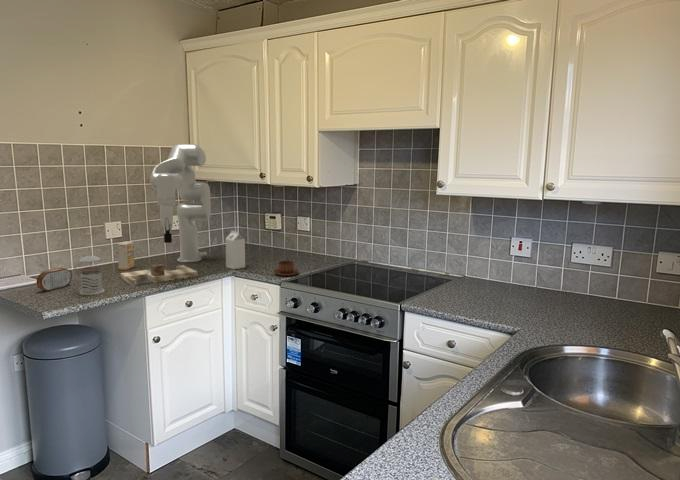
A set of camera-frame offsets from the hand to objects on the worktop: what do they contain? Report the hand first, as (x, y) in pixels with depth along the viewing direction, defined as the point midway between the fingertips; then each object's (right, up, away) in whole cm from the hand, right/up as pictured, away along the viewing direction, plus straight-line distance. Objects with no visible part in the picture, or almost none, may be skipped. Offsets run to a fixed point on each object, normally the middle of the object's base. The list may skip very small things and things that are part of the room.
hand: (168, 242), depth 226 cm
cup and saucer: (+51, -16, +20) cm, 57 cm away
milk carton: (+24, -13, +32) cm, 42 cm away
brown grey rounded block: (-43, -20, -13) cm, 49 cm away
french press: (-27, -21, -17) cm, 38 cm away
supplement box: (-30, -13, +26) cm, 42 cm away
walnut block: (-6, -15, +4) cm, 16 cm away
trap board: (-7, -17, +9) cm, 20 cm away
